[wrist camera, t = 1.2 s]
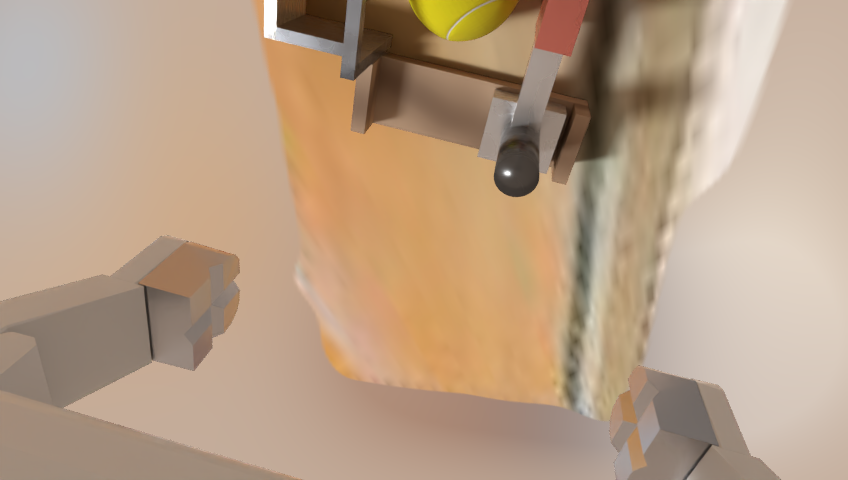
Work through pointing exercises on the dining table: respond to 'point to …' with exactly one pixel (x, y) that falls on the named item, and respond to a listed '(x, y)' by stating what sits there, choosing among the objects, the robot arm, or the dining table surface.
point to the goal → (327, 33)
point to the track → (450, 106)
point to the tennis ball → (462, 16)
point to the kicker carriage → (532, 104)
